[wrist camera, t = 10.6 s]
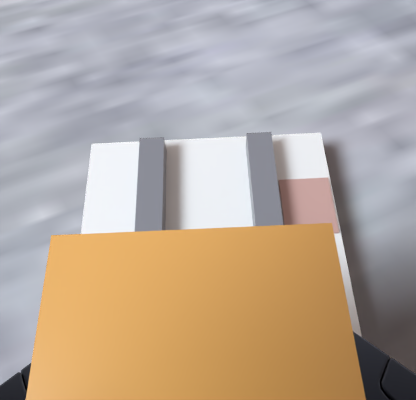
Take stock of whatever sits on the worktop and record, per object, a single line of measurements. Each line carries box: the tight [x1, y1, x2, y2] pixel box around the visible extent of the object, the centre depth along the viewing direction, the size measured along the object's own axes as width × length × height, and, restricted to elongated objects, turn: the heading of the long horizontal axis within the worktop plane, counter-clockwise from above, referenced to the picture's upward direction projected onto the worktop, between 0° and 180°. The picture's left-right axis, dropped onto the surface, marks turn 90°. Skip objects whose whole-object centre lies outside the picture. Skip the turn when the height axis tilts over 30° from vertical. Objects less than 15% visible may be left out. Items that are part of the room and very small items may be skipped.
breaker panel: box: [81, 132, 362, 337], centre depth 15 cm, size 12×10×2 cm
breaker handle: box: [26, 223, 366, 400], centre depth 8 cm, size 2×3×10 cm, turn 92°
